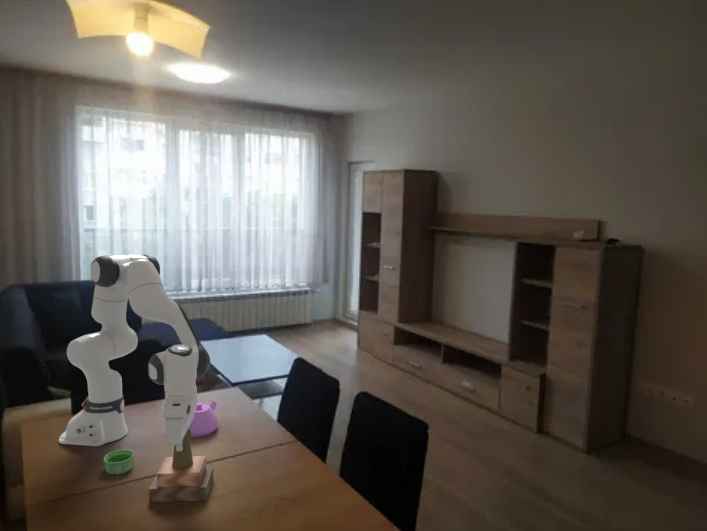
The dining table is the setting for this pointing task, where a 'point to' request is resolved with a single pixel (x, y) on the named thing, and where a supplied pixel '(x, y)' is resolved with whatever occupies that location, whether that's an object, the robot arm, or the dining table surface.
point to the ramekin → (119, 461)
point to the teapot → (204, 420)
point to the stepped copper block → (182, 482)
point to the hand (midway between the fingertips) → (182, 445)
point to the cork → (183, 454)
